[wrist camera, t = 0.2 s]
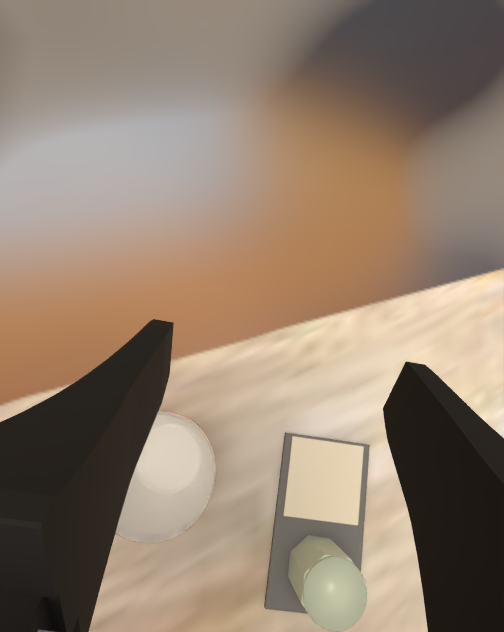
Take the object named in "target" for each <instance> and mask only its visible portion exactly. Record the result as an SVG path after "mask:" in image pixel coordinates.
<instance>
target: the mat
mask: <svg viewBox="0 0 504 632" xmlns="http://www.w3.org/2000/svg"><path fill="white" fill-rule="evenodd" d="M369 446H370V445H364V444H358V443H351V442H344V441H337V440H330V439H323V438H317V437H310V436H303V435H296V434H289V433H285V438H284V447H283V455H282V463H281V472H280V480H279V488H278V497H277V505H276V514H275V522H274V530H273V539H272V547H271V556H270V564H269V572H268V581H267V589H266V597H265V609H273V610H282V611H291V612H300V613H308V612H307V611H306V609H305V608H304V607H303V605H302V604H301V602H300V600H299V598H298V596H297V594H296V592H295V590H294V588H293V586H292V584H291V582H290V580H289V578H288V569H289V560H290V551H291V550H292V549H293V548H294V547H295V546H297V545H298V544H299V543H300V542H301V541H302V540H303V539H304V538H305V537H307V536H308V535H310V536H318V537H326V538H330V539H331V540H332V541H333V542H334V543H335V544H336V545H337V546H338V547H339V548H340V549H341V550H342V551H343V552H344V553H345V554H346V555H347V556H348V557H349V558H350V559H351V560H352V562H353V563H354V564H355V566H356V567H357V568H358V569H359V571H360V572H361V561H362V547H363V532H364V518H365V503H366V489H367V475H368V460H369Z"/></svg>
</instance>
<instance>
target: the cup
mask: <svg viewBox="0 0 504 632" xmlns="http://www.w3.org/2000/svg"><path fill="white" fill-rule="evenodd" d="M215 476H216V461H215V455H214V451H213V448H212V446H211V443H210V441H209V439H208V438H207V436H206V435H205V433H204V432H203V431H202V429H201V428H200V427H199V426H198V425H196V424H195V423H194V422H193V421H191V420H190V419H188V418H186V417H184V416H182V415H179V414H176V413H172V412H164V411H158V413H157V416H156V418H155V421H154V423H153V426H152V428H151V431H150V433H149V435H148V438H147V440H146V443H145V445H144V448H143V450H142V453H141V455H140V457H139V460H138V462H137V465H136V467H135V470H134V473H133V476H132V478H131V481H130V485H129V488H128V491H127V495H126V498H125V501H124V505H123V508H122V511H121V515H120V518H119V522H118V525H117V529H116V532H115V533H116V534H118V535H119V536H121V537H123V538H125V539H128V540H131V541H134V542H140V543H157V542H162V541H166V540H169V539H171V538H174V537H176V536H178V535H180V534H181V533H183V532H184V531H186V530H187V529H188V528H190V527H191V526H192V525H193V524H194V523H195V522H196V521H197V520H198V518H199V517H200V516H201V514H202V513H203V511H204V510H205V508H206V506H207V504H208V502H209V500H210V497H211V494H212V491H213V486H214V482H215Z"/></svg>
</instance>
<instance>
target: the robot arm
mask: <svg viewBox="0 0 504 632" xmlns="http://www.w3.org/2000/svg"><path fill="white" fill-rule="evenodd" d="M172 336H173V323H172V322H166V321H161V320H155V319H153V320H151V321H150V322H149V323H148V324H147V325H146V326H145V327H144V328H143V329H142V330H140V331H139V332H138V333H137V334H136V335H135V336H134V337H133V338H132V339H131V340H129V342H127V343H126V344H125V345H124V346H123V347H121V348H120V349H119V350H118V351H117V352H115V353H114V354H113V355H112V356H111V357H109V358H108V359H107V360H106V361H104V362H103V363H102V364H100V365H99V366H98V367H96V368H95V369H93V370H92V371H91V372H89V373H88V374H87V375H85V376H84V377H82V378H81V379H79V380H78V381H76V382H75V383H73V384H72V385H70V386H69V387H67V388H65V389H64V390H62V391H61V392H59V393H57V394H56V395H54V396H52V397H50V398H48V399H47V400H45V401H43V402H41V403H39V404H37V405H35V406H33V407H31V408H29V409H27V410H25V411H24V412H22V413H19V414H17V415H15V416H13V417H11V418H9V419H6V420H4V421H2V422H0V632H88V631H89V628H90V624H91V620H92V616H93V612H94V609H95V605H96V601H97V597H98V593H99V590H100V586H101V582H102V579H103V575H104V572H105V568H106V564H107V561H108V557H109V553H110V550H111V546H112V543H113V539H114V536H115V532H116V529H117V525H118V522H119V518H120V515H121V511H122V508H123V505H124V501H125V498H126V495H127V491H128V488H129V485H130V481H131V478H132V476H133V473H134V470H135V467H136V465H137V462H138V460H139V457H140V455H141V453H142V450H143V448H144V445H145V443H146V440H147V438H148V435H149V433H150V431H151V428H152V426H153V423H154V421H155V418H156V416H157V413H158V411H159V408H160V406H161V403H162V400H163V396H164V393H165V389H166V385H167V382H168V378H169V374H170V362H171V348H172ZM383 412H384V420H385V427H386V434H387V439H388V443H389V447H390V450H391V453H392V457H393V460H394V464H395V467H396V471H397V474H398V477H399V481H400V484H401V487H402V491H403V494H404V497H405V501H406V504H407V508H408V512H409V516H410V520H411V524H412V529H413V535H414V540H415V545H416V551H417V556H418V563H419V569H420V575H421V582H422V588H423V595H424V603H425V611H426V619H427V627H428V632H504V438H503V437H502V436H500V435H499V434H498V433H497V432H496V431H495V430H494V429H492V428H491V427H490V426H489V425H488V424H487V423H486V422H485V421H484V420H483V419H482V418H480V417H479V416H478V415H477V414H476V413H475V412H474V411H473V410H472V409H471V408H470V407H469V406H468V405H467V404H466V403H465V402H464V401H463V400H462V399H461V398H460V397H459V396H458V395H457V394H456V393H455V392H454V391H453V390H452V389H451V388H450V387H448V386H447V385H446V384H445V383H444V382H443V381H442V380H441V379H440V378H439V377H438V376H437V375H436V374H435V373H434V372H433V371H432V370H431V369H429V368H428V367H427V366H426V365H423V364H417V363H411V362H405V365H404V367H403V369H402V371H401V373H400V375H399V377H398V379H397V381H396V383H395V385H394V387H393V389H392V391H391V393H390V395H389V397H388V399H387V401H386V403H385V405H384V407H383Z"/></svg>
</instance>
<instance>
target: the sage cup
mask: <svg viewBox="0 0 504 632" xmlns="http://www.w3.org/2000/svg"><path fill="white" fill-rule="evenodd" d="M288 578H289V580H290V582H291V584H292V586H293V588H294V590H295V592H296V594H297V596H298V598H299V600H300V602H301V604H302V605H303V607H304V608H305V609H306V611H307V612H308V614H309V615H310V617H311V619H312V620H313V621H314V622H315V624H316V625H317V627H319V628H323V629H325V630H328V631H335V632H337V631H343V630H346V629H348V628H350V627H352V626H353V625H354V624H355V623H356V622H357V621H358V620H359V619H360V617H361V616H362V614H363V612H364V609H365V607H366V602H367V587H366V580H365V578H364V577H363V575H362V574H361V572H360V571H359V569H358V568H357V567H356V566H355V564H354V563H353V562H352V560H351V559H350V558H349V557H348V556H347V555H346V554H345V553H344V552H343V551H342V550H341V549H340V548H339V547H338V546H337V545H336V544H335V543H334V542H333V541H332V540H331V539H330V538H326V537H318V536H310V535H308V536H307V537H305V538H304V539H303V540H302V541H301V542H300V543H299V544H298V545H297V546H295V547H294V548H293V549H292V550H291V551H290V560H289V569H288Z"/></svg>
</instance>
